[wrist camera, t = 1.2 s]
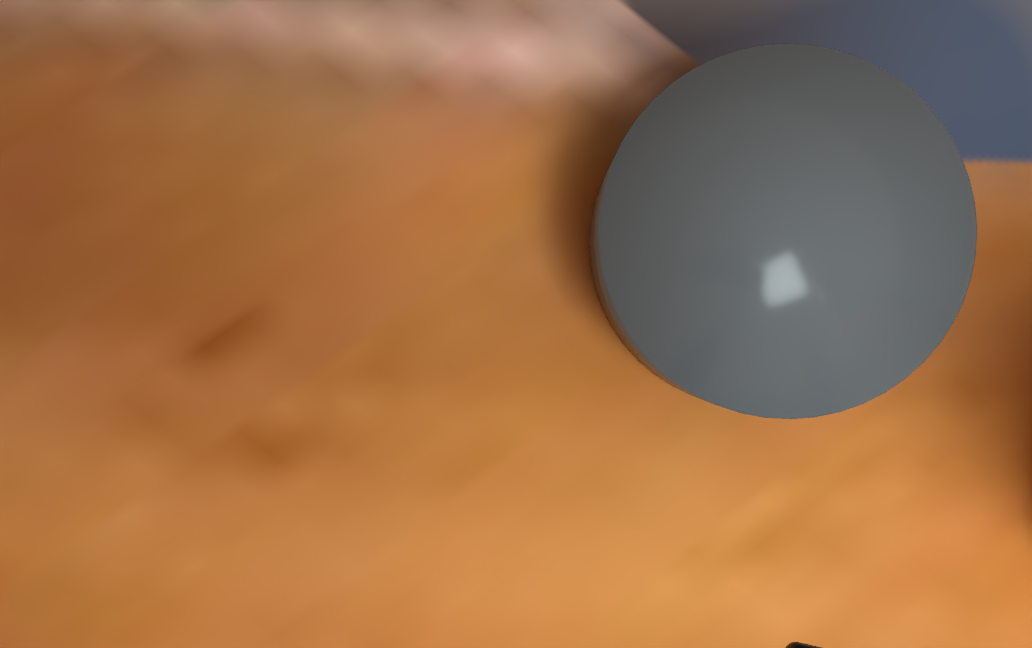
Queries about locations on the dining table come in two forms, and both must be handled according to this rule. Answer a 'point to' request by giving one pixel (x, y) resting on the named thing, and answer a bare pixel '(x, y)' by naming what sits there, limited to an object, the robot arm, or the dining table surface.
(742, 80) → the plinth
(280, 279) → the dining table surface
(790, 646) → the robot arm
